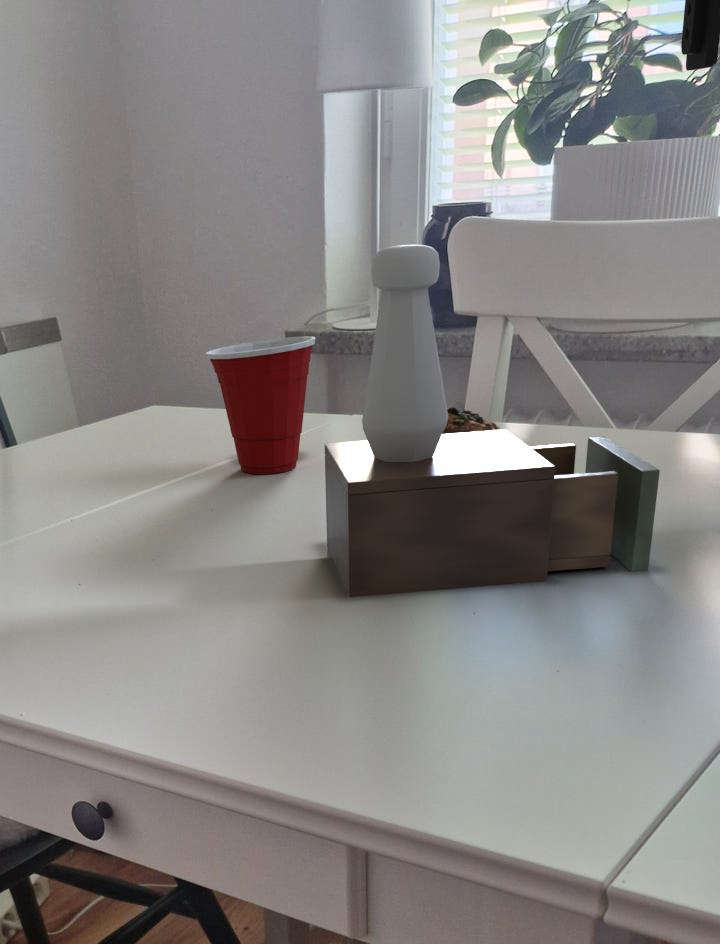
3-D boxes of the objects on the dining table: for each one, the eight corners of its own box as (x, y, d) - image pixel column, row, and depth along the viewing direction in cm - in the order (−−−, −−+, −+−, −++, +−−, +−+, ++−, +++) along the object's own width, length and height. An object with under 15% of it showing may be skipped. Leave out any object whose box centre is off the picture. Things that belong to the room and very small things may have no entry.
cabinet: (500, 544, 91) (506, 429, 86) (546, 594, 80) (555, 466, 75) (327, 558, 90) (324, 443, 86) (349, 610, 80) (347, 482, 75)
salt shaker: (464, 454, 80) (471, 241, 73) (401, 469, 77) (402, 250, 71) (407, 443, 84) (409, 241, 78) (346, 457, 82) (342, 249, 75)
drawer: (610, 526, 90) (619, 434, 86) (665, 569, 80) (678, 468, 76) (434, 540, 90) (436, 448, 86) (468, 585, 80) (472, 484, 76)
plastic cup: (253, 452, 125) (246, 331, 119) (339, 460, 119) (337, 333, 113) (192, 475, 118) (182, 347, 112) (281, 484, 112) (275, 350, 106)
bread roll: (469, 464, 113) (466, 410, 111) (376, 470, 120) (371, 418, 118) (526, 446, 120) (524, 395, 118) (435, 452, 127) (431, 404, 125)
